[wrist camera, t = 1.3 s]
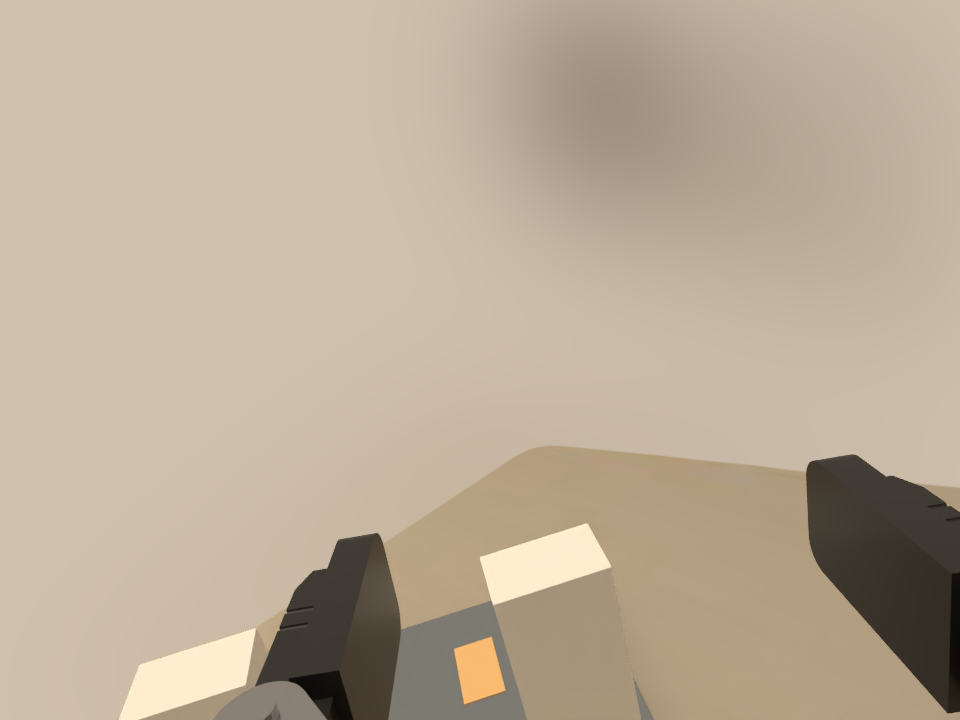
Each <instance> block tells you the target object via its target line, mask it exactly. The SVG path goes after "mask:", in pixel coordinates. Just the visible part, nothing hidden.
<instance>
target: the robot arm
mask: <svg viewBox="0 0 960 720" xmlns="http://www.w3.org/2000/svg"><path fill="white" fill-rule="evenodd" d="M806 480H807V503H808V527H809V540H810V545H811V549H812V552H813V555H814V558H815V560H816V562H817V564H818V566H819V567H820V569H821V570H822V572H823V573H824V574H825V575H826V576H827V577H828V578H829V580H830V581H831V582H832V583H833V584H834V585H835V586H836V588H837V589H838V590H839V591H840V592H841V593H842V594H843V595H844V597H845V598H846V599H847V600H848V601H849V602H850V603H851V604H852V606H853V607H854V608H855V609H856V610H857V611H858V612H859V614H860V615H861V616H862V617H863V618H864V619H865V620H866V621H867V623H868V624H869V625H870V626H871V627H872V628H873V629H874V631H875V632H876V633H877V634H878V635H879V636H880V637H881V638H882V640H883V641H884V642H885V643H886V644H887V645H888V646H889V647H890V649H891V650H892V651H893V652H894V653H895V654H896V655H897V657H898V658H899V659H900V660H901V661H902V662H903V663H904V664H905V666H906V667H907V668H908V669H909V670H910V671H911V672H912V673H913V675H914V676H915V677H916V678H917V679H918V680H919V681H920V683H921V684H922V685H923V686H924V687H925V688H926V689H927V690H928V692H929V693H930V694H931V695H932V696H933V697H934V698H935V700H936V701H937V702H938V703H939V704H940V705H941V706H942V707H943V709H944V710H945V711H946V712H947V713H954V712H960V512H958V511H957V510H956V509H954V508H953V507H951V506H948V507H947V505H946V503H945V502H944V501H943V500H941V499H940V498H938V497H937V496H935V495H934V494H932V493H931V492H930V491H928V490H927V489H925V488H924V487H922V486H919V485H916V484H913V483H911V482H908V481H905V480H903V479H900V478H897V477H895V476H887V477H886V476H884V475H883V474H882V473H880V472H879V471H878V470H876V469H875V468H874V467H872V466H871V465H869V464H868V463H867V462H865V461H864V460H863V459H861V458H860V457H858V456H857V455H845V456H839V457H834V458H829V459H822V460H816V461H812V462H810V463H809V464H808V467H807V472H806ZM400 636H401V624H400V613H399V607H398V602H397V598H396V594H395V590H394V586H393V582H392V578H391V574H390V570H389V566H388V562H387V558H386V554H385V550H384V546H383V542H382V539H381V537H380V535H379V534H378V533H375V534H369V535H363V536H358V537H352V538H345V539H340V540H338V542H337V544H336V546H335V549H334V552H333V555H332V557H331V560H330V563H329V566H328V569H322V570H316V571H313V572H312V573H311V574H310V575H309V576H308V577H307V578H306V579H305V580H304V581H303V582H302V584H300V585H299V586H298V587H297V589H296V590H295V591H294V594H293V596H292V598H291V601H290V603H289V606H288V608H287V614H285V615H284V618H283V620H282V622H281V625H280V631H278V632H277V634H276V637H275V639H274V642H273V644H272V646H271V649H270V651H269V653H268V656H267V658H266V661H265V663H264V665H263V668H262V670H261V673H260V675H259V677H258V680H257V682H256V685H255V687H253V688H251V689H249V690H247V691H245V692H243V693H241V694H240V695H238V696H237V697H235V698H234V699H233V700H231V701H230V702H229V703H228V704H226V705H225V706H224V707H223V708H222V709H221V710H220V711H219V713H218V714H217V715H216V716H215V718H214V719H213V720H388V718H389V712H390V705H391V698H392V691H393V685H394V678H395V671H396V664H397V658H398V651H399V644H400Z"/></svg>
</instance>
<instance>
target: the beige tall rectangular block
mask: <svg viewBox="0 0 960 720" xmlns="http://www.w3.org/2000/svg"><path fill="white" fill-rule="evenodd" d="M267 656H268V651H267V649H266V647H265V645H264V643H263V641H262V639H261V637H260V635H259V633H258V631H257V629H256V628H255V629H251V630H248V631H245V632H242V633H239V634H236V635H233V636H229V637H226V638H223V639H220V640H217V641H214V642H211V643H208V644H204V645H201V646H198V647H195V648H191V649H188V650H185V651H182V652H179V653H176V654H172V655H169V656H166V657H163V658H160V659H157V660H153V661H150V662H147V663H144V664H141V665H140V666H139V668H138V671H137V673H136V676H135V679H134V681H133V684H132V686H131V689H130V692H129V694H128V697H127V700H126V702H125V705H124V708H123V710H122V713H121V715H120V718H119V720H213V719H214V718H215V716H216V715H217V714H218V713H219V711H220V710H221V709H222V708H223V707H224V706H225V705H226V704H228V703H229V702H230V701H231V700H233V699H234V698H235V697H237V696H238V695H240V694H241V693H243V692H245V691H247V690H249V689H251V688H253V687H255V685H256V682H257V680H258V677H259V675H260V673H261V670H262V668H263V665H264V663H265V661H266V658H267Z"/></svg>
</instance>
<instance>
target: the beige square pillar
mask: <svg viewBox="0 0 960 720" xmlns="http://www.w3.org/2000/svg"><path fill="white" fill-rule="evenodd" d="M480 560H481V564H482V567H483V571H484V574H485V578H486V582H487V585H488V589H489V592H490V596H491V599H492V603H493V606H494V610H495V613H496V617H497V620H498V623H499V627H500V630H501V633H502V637H503V640H504V643H505V647H506V650H507V654H508V657H509V660H510V664H511V667H512V670H513V674H514V677H515V681H516V684H517V687H518V691H519V694H520V697H521V701H522V704H523V707H524V711H525V714H526V718H527V720H641V716H640V711H639V705H638V700H637V695H636V690H635V685H634V680H633V675H632V670H631V664H630V659H629V654H628V649H627V644H626V639H625V634H624V629H623V623H622V618H621V613H620V608H619V603H618V598H617V593H616V587H615V582H614V577H613V572H612V567H611V565H610V563H609V562H608V560H607V558H606V556H605V554H604V553H603V551H602V549H601V547H600V546H599V544H598V542H597V540H596V538H595V537H594V535H593V533H592V531H591V529H590V528H589V526H588V524H583V525H580V526H577V527H574V528H571V529H568V530H564V531H561V532H558V533H555V534H552V535H549V536H545V537H542V538H539V539H536V540H533V541H530V542H526V543H523V544H520V545H517V546H514V547H511V548H507V549H504V550H501V551H498V552H495V553H492V554H489V555H485V556H482V557H480Z"/></svg>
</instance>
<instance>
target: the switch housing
mask: <svg viewBox="0 0 960 720" xmlns="http://www.w3.org/2000/svg"><path fill="white" fill-rule="evenodd" d="M633 680H634V679H633ZM634 685H635V690H636V695H637V700H638V705H639V711H640V716H641V720H653V718H652V716H651V714H650V711H649V709H648V707H647V705H646V703H645V701H644V699H643V697H642V695H641V693H640V691H639V689H638V687H637V685H636V683H635V681H634ZM388 720H527V718H526V714H525V711H524V707H523V704H522V701H521V697H520V694H519V691H518V687H517V684H516V681H515V677H514V674H513V670H512V667H511V664H510V660H509V657H508V654H507V650H506V647H505V643H504V640H503V637H502V633H501V630H500V627H499V623H498V620H497V617H496V613H495V610H494V606H493V603H492V601H489V602H486V603H483V604H480V605H477V606H473V607H470V608H467V609H464V610H461V611H458V612H455V613H452V614H449V615H446V616H442V617H439V618H436V619H433V620H430V621H427V622H424V623H421V624H418V625H414V626H411V627H408V628H405V629H402V630H401V636H400V644H399V651H398V658H397V664H396V671H395V678H394V685H393V691H392V698H391V705H390V712H389V718H388Z"/></svg>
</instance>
